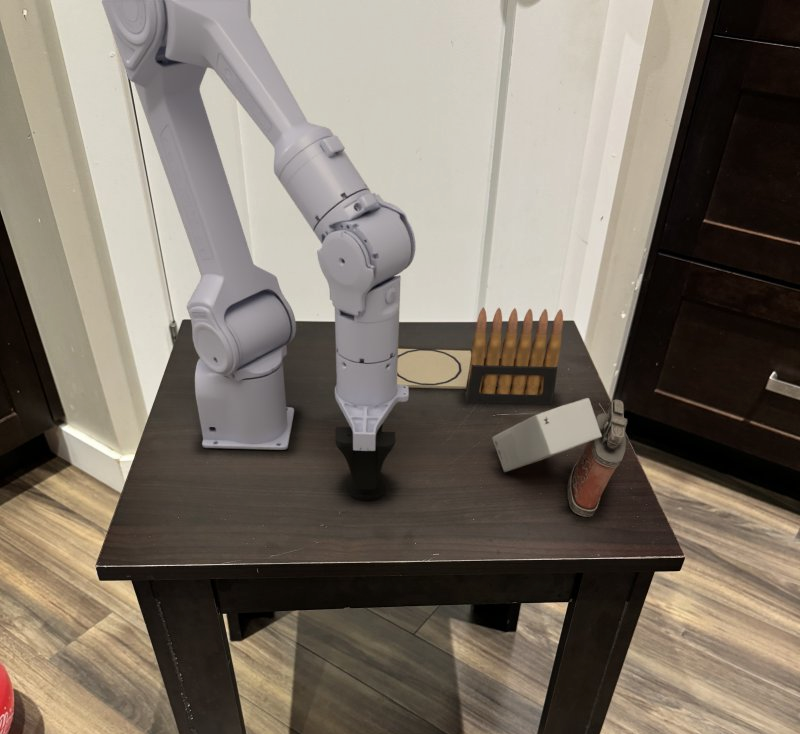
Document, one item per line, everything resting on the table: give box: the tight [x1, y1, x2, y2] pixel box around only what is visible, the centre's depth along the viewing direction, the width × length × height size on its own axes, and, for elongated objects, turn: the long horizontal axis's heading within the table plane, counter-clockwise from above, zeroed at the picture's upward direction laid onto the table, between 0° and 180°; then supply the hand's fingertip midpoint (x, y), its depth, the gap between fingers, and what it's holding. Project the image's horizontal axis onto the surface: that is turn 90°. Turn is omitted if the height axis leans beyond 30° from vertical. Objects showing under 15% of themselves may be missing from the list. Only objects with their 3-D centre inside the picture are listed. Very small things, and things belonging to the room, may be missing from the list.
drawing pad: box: [397, 348, 472, 390], centre depth 99 cm, size 12×9×1 cm
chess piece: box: [345, 431, 388, 502], centre depth 78 cm, size 4×4×10 cm
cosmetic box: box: [491, 397, 602, 473], centre depth 79 cm, size 6×4×12 cm
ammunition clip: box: [464, 307, 564, 405], centre depth 91 cm, size 11×2×12 cm, turn 91°
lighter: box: [567, 399, 628, 518], centre depth 78 cm, size 8×3×10 cm, turn 168°
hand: (366, 466), depth 79 cm, fingers open, 6 cm apart
